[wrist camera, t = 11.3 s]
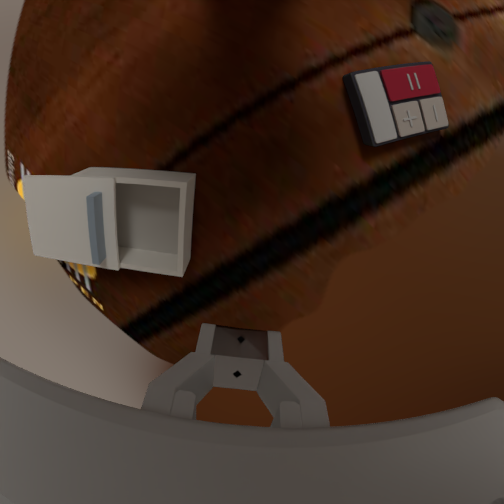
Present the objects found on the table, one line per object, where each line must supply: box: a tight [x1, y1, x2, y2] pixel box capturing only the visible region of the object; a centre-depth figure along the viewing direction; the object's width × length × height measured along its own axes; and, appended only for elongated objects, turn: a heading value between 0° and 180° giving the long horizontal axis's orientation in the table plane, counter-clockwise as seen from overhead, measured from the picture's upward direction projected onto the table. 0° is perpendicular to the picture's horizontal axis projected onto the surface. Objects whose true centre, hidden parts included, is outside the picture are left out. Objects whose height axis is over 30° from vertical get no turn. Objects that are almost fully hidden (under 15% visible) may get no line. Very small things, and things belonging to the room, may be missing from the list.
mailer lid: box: [23, 175, 120, 270], centre depth 36 cm, size 14×18×3 cm
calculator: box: [343, 62, 449, 147], centre depth 33 cm, size 11×4×15 cm
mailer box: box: [71, 167, 196, 277], centre depth 40 cm, size 14×18×6 cm
